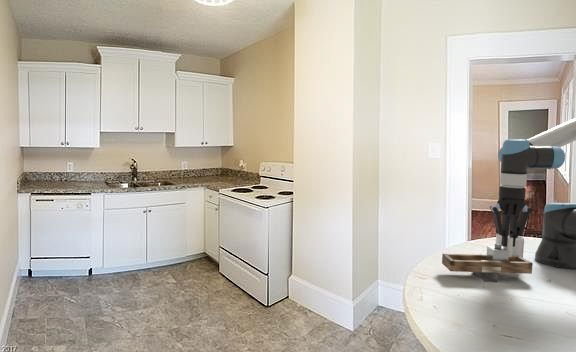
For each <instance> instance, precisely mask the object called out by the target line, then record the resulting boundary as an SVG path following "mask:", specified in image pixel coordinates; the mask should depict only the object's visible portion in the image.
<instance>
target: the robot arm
mask: <svg viewBox="0 0 576 352" xmlns="http://www.w3.org/2000/svg"><path fill="white" fill-rule="evenodd" d="M575 141H576V117H574V118H573V119H570V120H568V121H566V122H563V123H561V124H559V125H556V126H554V127H552V128H549V129H548V130H546V131H542V132H541V133H539V134H536V135H535V136H532V137H530V138H528V139H505V140H504V141H503V143H502V147H500V149H499V151H498V153H497V157H498V161H499V162H500V173H499V174H500V176H499V184H500V186H499V189H498V190H499V191H498V200H497V202H496V204H494V205H490V206H489V209H490V211H491V213H492V217H493V222H494V223H493V225H494V228H495V233H496V235H497V234H499V235H501V236H502V241H501V244H502V246H504V248H506V249H508V250H509V257H512V247H514V246H515V240H516V238H518V236H520V237H522V236H523V233H524V231H525V228H526V225H527V222H528V218H529V216H530V214H531V213H532V212H533V208H532V207H530V206H528V205H526V202H525V199H526V193H527V189H526V186H527V179H528V169H537V170H540V169H541V170H551V169H552V170H553V169H554V170H555V169H558V168H561V167H562V166H563V165H564V164H565V162H566V153H565V151H564V150H563V147H565V146H566V145H569V144H571V143H574V142H575ZM500 211H501V213H500ZM501 216H502V219H501ZM542 217H543V218H542V231H541V232H542V233H541V240H540V243H539V245H538V247H537V249H536V251H535V253H534V260H536V261H537V262H538V263H539V262H540V263H541V264H543V265H547V266H551V267H556V268H562V269H572V270H573V269H576V202H574V203H573V202H549V203H546V204H545V206H544V209H543V216H542ZM509 235H510V236H509Z"/></svg>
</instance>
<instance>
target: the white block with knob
mask: <svg viewBox="0 0 576 352" xmlns="http://www.w3.org/2000/svg"><path fill="white" fill-rule="evenodd" d="M501 246H502V245H500V244H496V243H495V244H494V246H492V245H487V247H486V254H487V256H486V260H493V261H508V258H509V250H508V249H506V248H504V247H501Z"/></svg>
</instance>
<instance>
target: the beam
mask: <svg viewBox="0 0 576 352" xmlns="http://www.w3.org/2000/svg"><path fill="white" fill-rule="evenodd" d="M486 256H487V253H486V254H485V253H471V254H470V253H469V254H468V253H466V254H464V253H442V257H441V264H442V265H443V266H444V267H445V268H446V269H447V270H448V271H450V272H453V273H454V272H459V273H461V272H462V273H463V272H465V273H473V274H475V275H476V276H477V277H478V278H480V279H481V280H482V281H483V282H484V283H486V282H487V283H498V280H499V274H525V275H526V274H527V275H528V274H529V275H531V274H533V264H534V263H533V262H531V261H530V260H528V259H525V258H524V257H523V258H522V257H520V256H514V255H512V257H509V258H508V261H493V260H486Z"/></svg>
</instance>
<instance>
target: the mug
mask: <svg viewBox="0 0 576 352" xmlns="http://www.w3.org/2000/svg"><path fill="white" fill-rule="evenodd" d="M509 236H510V235H509ZM501 241H502V236H501V235H499V234H497V233H496V235H495V244H500V245H502V244H501ZM501 247H504V246H501ZM524 249H525V238H524V237H522V236H518V238H516V240H515V246H514V247H512V255H514V256H520V257H522V258H524Z"/></svg>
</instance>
